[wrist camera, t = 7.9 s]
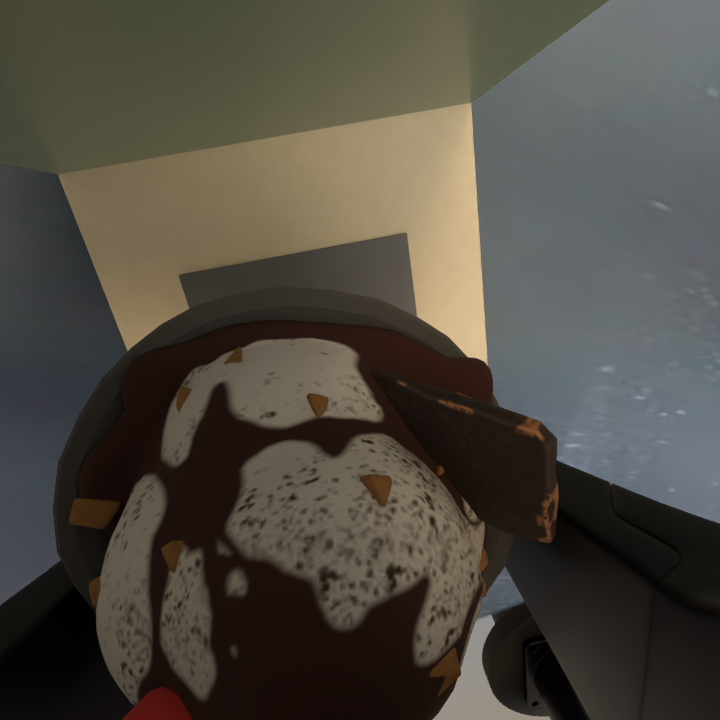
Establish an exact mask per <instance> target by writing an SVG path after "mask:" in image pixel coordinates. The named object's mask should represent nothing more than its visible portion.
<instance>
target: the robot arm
mask: <svg viewBox="0 0 720 720" xmlns="http://www.w3.org/2000/svg"><path fill="white" fill-rule="evenodd" d="M555 473H556V478H557V482H558V496H559V500H558V508H557V516H556V531H555V536H554V538H553V540H552V541H551V542H550V543H547V542H540V541H532V540H527V539H524V538H520V537H517V536H514V539H513V543H512V546H511V549H510V552H509V555H508V558H507V562H506V565H505V567H506V569H507V570H508V572H509V574H510V576H511V578H512V579H513V581H514V583H515V585H516V587H517V588H518V590H519V592H520V594H521V595H522V597H523V599H524V601H525V603H526V604H527V606H528V608H529V610H530V612H531V613H532V615H533V617H534V619H535V621H536V622H537V624H538V626H539V628H540V630H541V631H542V633H543V635H539V636H535V637H530V638H527V639H526V640H525V641H524V642H523V664H524V688H525V700H526V703H527V705H528V707H529V708H532V709H533V708H538V707H543V706H545V708H546V710H547V712H548V715H549V717H550V719H551V720H720V524H719V523H716V522H713V521H710V520H707V519H704V518H702V517H699V516H696V515H693V514H690V513H687V512H685V511H682V510H679V509H676V508H673V507H671V506H668V505H665V504H662V503H660V502H657V501H655V500H652V499H650V498H647V497H645V496H642V495H640V494H637V493H634V492H632V491H630V490H627V489H625V488H622V487H620V486H618V485H615V484H611V486H610V483H609V482H608V481H605V480H603V479H600V478H598V477H595V476H593V475H591V474H588V473H586V472H583V471H581V470H579V469H576V468H574V467H571V466H569V465H567V464H564V463H562V462H559V461H557V460H556V464H555ZM134 707H135V706H134V705H133V704H132V703H131V702H130V701H129V700H128V698H127V697H126V696H125V694H124V693H123V692H122V690H121V689H120V688H119V686H118V685H117V683H116V682H115V680H114V678H113V677H112V675H111V673H110V671H109V670H108V667H107V665H106V662H105V659H104V657H103V654H102V652H101V648H100V644H99V639H98V635H97V629H96V613H95V612H94V610H93V609H92V608H91V607H90V605H89V604H88V603H87V601H86V600H85V599H84V598H83V596H82V595H81V594H80V593H79V591H78V590H77V589H76V587H75V586H74V584H73V582H72V580H71V578H70V576H69V574H68V572H67V570H66V568H65V566H64V564H63V562H62V560H61V561H60V562H58V563H57V564H56V565H54V566H53V567H52V568H50V569H49V570H48V571H46V572H45V573H44V574H42V575H41V576H39V577H38V578H37V579H35V580H34V581H33V582H31V583H30V584H29V585H27V586H26V587H25V588H23V589H22V590H21V591H19V592H18V593H17V594H15V595H14V596H12V597H11V598H10V599H8V600H7V601H6V602H4V603H3V604H2V605H0V720H122V719H123V718H124V717H125V716H126V715H127V714H128V713H129V712H130V711H131V710H132V709H133V708H134Z"/></svg>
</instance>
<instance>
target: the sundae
mask: <svg viewBox="0 0 720 720" xmlns="http://www.w3.org/2000/svg"><path fill="white" fill-rule="evenodd" d="M556 457H557V438H556V437H555V436H554V435H553V434H552V433H551V432H550V431H549V430H548V429H547V428H546V427H545V426H544V425H543V424H542V422H541V421H538V420H535V419H532V418H530V417H527V416H524V415H521V414H518V413H515V412H512V411H510V410H507V409H504V408H501V407H499V405H498V403H497V401H496V399H495V397H494V395H493V379H492V375H491V371H490V368H489V367H488V366H487V364H486V363H485V362H484V361H482V360H480V359H478V358H470V357H467V356H466V355H465V354H464V353H463V352H462V350H461V349H460V348H459V347H458V346H457V345H456V344H455V343H454V342H453V341H452V340H451V339H450V338H449V337H448V336H447V335H445V334H444V333H442V332H440V331H439V330H437V329H436V328H434V327H433V326H431V325H430V324H428V323H426V322H425V321H423V320H422V319H420V318H418V317H416V316H414V315H412V314H410V313H408V312H406V311H404V310H401V309H399V308H397V307H395V306H393V305H391V304H389V303H387V302H385V301H382V300H380V299H376V298H371V297H366V296H361V295H356V294H351V293H346V292H341V291H336V290H327V289H313V288H300V287H286V286H282V287H275V288H269V289H263V290H257V291H251V292H245V293H239V294H233V295H230V296H226V297H223V298H219V299H216V300H212V301H209V302H205V303H202V304H198V305H195V306H193V307H192V308H190V309H188V310H186V311H184V312H182V313H181V314H179V315H177V316H175V317H173V318H172V319H170V320H168V321H166V322H164V323H163V324H161V325H160V326H158V327H157V328H156V329H154V330H153V331H152V332H151V333H149V334H148V335H147V336H146V337H144V338H143V339H142V340H140V341H139V342H138V343H137V344H135V345H134V346H133V347H131V348H130V350H129V351H128V352H127V353H126V354H125V355H124V356H123V357H122V358H121V359H120V360H119V361H118V362H117V363H116V364H115V365H114V366H113V367H112V368H111V370H110V371H109V372H108V373H107V374H106V375H105V376H104V377H103V378H102V379H101V381H100V382H99V384H98V386H97V387H96V389H95V390H94V392H93V394H92V395H91V397H90V399H89V400H88V402H87V403H86V405H85V407H84V408H83V410H82V412H81V413H80V415H79V417H78V419H77V421H76V423H75V426H74V428H73V430H72V432H71V435H70V437H69V439H68V441H67V444H66V446H65V448H64V450H63V453H62V455H61V457H60V459H59V462H58V468H57V477H56V486H55V495H54V504H53V514H54V525H55V535H56V545H57V552H58V554H59V556H60V558H61V560H62V562H63V564H64V566H65V568H66V570H67V572H68V574H69V576H70V578H71V580H72V582H73V584H74V586H75V587H76V589H77V590H78V591H79V593H80V594H81V595H82V596H83V598H84V599H85V600H86V601H87V603H88V604H89V605H90V607H91V608H92V609H93V610H94V612H95V613H96V629H97V635H98V639H99V644H100V648H101V652H102V654H103V657H104V659H105V662H106V665H107V667H108V670H109V671H110V673H111V675H112V677H113V678H114V680H115V682H116V683H117V685H118V686H119V688H120V689H121V690H122V692H123V693H124V694H125V696H126V697H127V698H128V700H129V701H130V702H131V703H132V704H133V705H134V706H135V707H134V708H133V709H132V710H131V711H130V712H129V713H128V714H127V715H126V716H125V717H124V718H123V719H122V720H432V719H433V718H434V717H435V716H436V715H437V714H438V713H439V711H440V710H441V708H442V707H443V705H444V704H445V702H446V701H447V699H448V698H449V696H450V695H451V693H452V692H453V690H454V687H455V684H456V681H457V678H458V677H459V676H460V675H461V670H460V669H461V666H462V662H463V659H464V656H465V652H466V649H467V646H468V642H469V639H470V636H471V633H472V630H473V627H474V624H475V622H476V619H477V616H478V613H479V610H480V607H481V600H482V597H484V596H486V592H487V591H488V589H489V588H490V587H491V585H492V584H493V582H494V581H495V579H496V578H497V577H498V575H499V574H500V572H501V571H502V569H503V568H504V567H505V565H506V562H507V558H508V555H509V552H510V549H511V546H512V543H513V539H514V536H517V537H520V538H524V539H527V540H532V541H540V542H547V543H550V542H551V541H552V540H553V538H554V536H555V531H556V516H557V508H558V500H559V496H558V482H557V478H556V473H555V464H556Z"/></svg>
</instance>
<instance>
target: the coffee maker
mask: <svg viewBox="0 0 720 720" xmlns="http://www.w3.org/2000/svg"><path fill="white" fill-rule="evenodd" d="M607 1H608V0H0V165H5V166H11V167H17V168H23V169H29V170H35V171H41V172H47V173H53V174H58V176H59V179H60V181H61V184H62V186H63V189H64V191H65V194H66V196H67V199H68V202H69V204H70V207H71V209H72V212H73V214H74V217H75V219H76V222H77V224H78V227H79V229H80V232H81V234H82V237H83V239H84V242H85V245H86V247H87V250H88V252H89V255H90V257H91V260H92V262H93V265H94V267H95V270H96V272H97V275H98V277H99V280H100V283H101V285H102V288H103V290H104V293H105V295H106V298H107V300H108V303H109V305H110V308H111V310H112V313H113V315H114V318H115V320H116V323H117V326H118V328H119V331H120V333H121V336H122V338H123V341H124V343H125V346H126V348H127V351H129V350H130V348H131V347H133V346H134V345H135V344H137V343H138V342H139V341H140V340H142V339H143V338H144V337H146V336H147V335H148V334H149V333H151V332H152V331H153V330H154V329H156V328H157V327H158V326H160V325H161V324H163V323H164V322H166V321H168V320H170V319H172V318H173V317H175V316H177V315H179V314H181V313H182V312H184V311H186V310H188V309H190V308H192V307H193V306H195V305H198V304H202V303H205V302H209V301H212V300H216V299H219V298H223V297H226V296H230V295H233V294H239V293H245V292H251V291H257V290H263V289H269V288H275V287H282V286H286V287H300V288H313V289H327V290H336V291H341V292H346V293H351V294H356V295H361V296H366V297H371V298H376V299H380V300H382V301H385V302H387V303H389V304H391V305H393V306H395V307H397V308H399V309H401V310H404V311H406V312H408V313H410V314H412V315H414V316H416V317H418V318H420V319H422V320H423V321H425V322H426V323H428V324H430V325H431V326H433V327H434V328H436V329H437V330H439V331H440V332H442V333H444V334H445V335H447V336H448V337H449V338H450V339H451V340H452V341H453V342H454V343H455V344H456V345H457V346H458V347H459V348H460V349H461V350H462V352H463V353H464V354H465V355H466V356H467V357H470V358H478V359H480V360H482V361H484V362H485V363H486V364H487V366H488V362H487V346H486V330H485V314H484V299H483V283H482V267H481V252H480V236H479V220H478V205H477V189H476V173H475V157H474V142H473V126H472V110H471V102H472V101H474V100H475V99H476V98H478V97H479V96H480V95H482V94H483V93H484V92H486V91H487V90H488V89H490V88H491V87H492V86H494V85H495V84H497V83H498V82H499V81H501V80H502V79H503V78H505V77H506V76H507V75H509V74H510V73H511V72H513V71H514V70H515V69H517V68H518V67H519V66H521V65H522V64H523V63H525V62H526V61H528V60H529V59H530V58H532V57H533V56H534V55H536V54H537V53H538V52H540V51H541V50H542V49H544V48H545V47H546V46H548V45H549V44H550V43H552V42H553V41H554V40H556V39H557V38H558V37H560V36H561V35H563V34H564V33H565V32H567V31H568V30H569V29H571V28H572V27H573V26H575V25H576V24H577V23H579V22H580V21H581V20H583V19H584V18H585V17H587V16H588V15H589V14H591V13H592V12H593V11H595V10H596V9H598V8H599V7H600V6H602V5H603V4H604V3H606V2H607Z"/></svg>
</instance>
